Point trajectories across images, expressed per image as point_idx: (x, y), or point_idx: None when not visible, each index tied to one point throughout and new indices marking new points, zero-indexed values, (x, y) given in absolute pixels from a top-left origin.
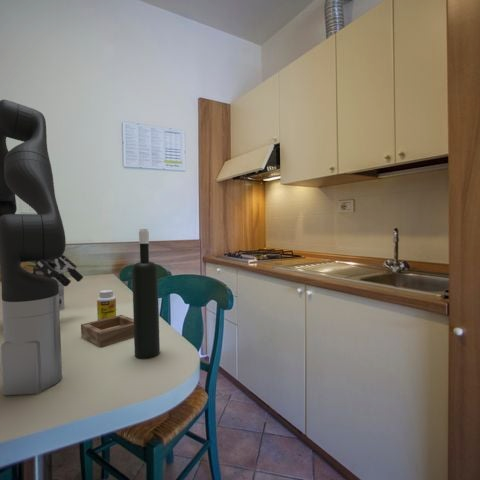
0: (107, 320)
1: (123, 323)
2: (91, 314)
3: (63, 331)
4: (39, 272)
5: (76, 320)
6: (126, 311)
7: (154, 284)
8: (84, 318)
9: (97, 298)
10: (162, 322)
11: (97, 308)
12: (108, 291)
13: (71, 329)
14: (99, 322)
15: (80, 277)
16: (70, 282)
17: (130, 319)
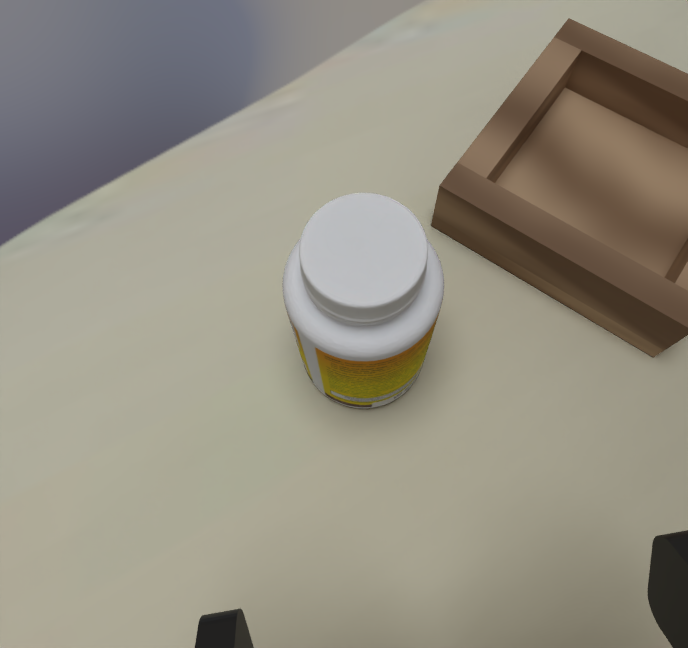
0: (555, 222)
1: (506, 161)
2: (153, 603)
3: (588, 551)
4: None
5: (327, 630)
6: (90, 348)
7: None
8: (271, 592)
9: (399, 344)
10: (347, 51)
11: (413, 363)
12: (385, 213)
13: (539, 518)
14: (605, 249)
15: (240, 644)
16: (657, 539)
17: (531, 92)
